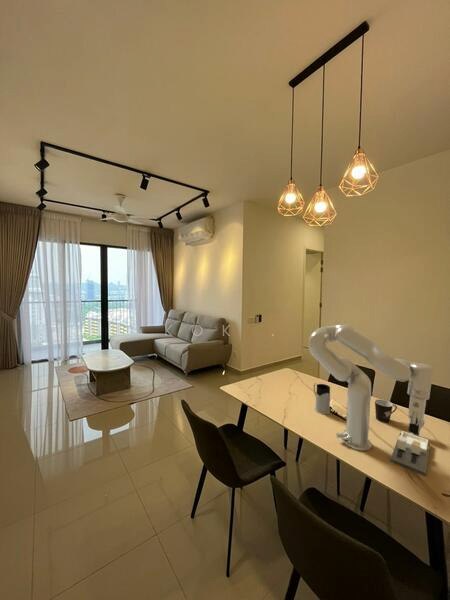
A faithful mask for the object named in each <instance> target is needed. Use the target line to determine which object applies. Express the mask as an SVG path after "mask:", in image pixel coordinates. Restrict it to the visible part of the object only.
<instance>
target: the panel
mask: <svg viewBox="0 0 450 600" xmlns="http://www.w3.org/2000/svg"><path fill="white" fill-rule="evenodd" d="M401 433H402V432H399V435H398V438H399V436H401ZM398 438H397V441H396V442H395V446H394V448H393V451H392V454H391V456H390V458H389V459H390V462H391V463H393V464H396V465H399V466H400V467H403V468H406V469H407V470H410V471H413V472H415V473H417V474H420V475H422V476H425V477H426V476H427V471H428V470H427V469H428V462H429V457H430V456H429V455H430V450H431V442H429V441H428V445H427V451H426V453H424V452H422V451H420V454H419V455H418V454H415V453H412V452H411V447H408V446H406V450H405V451H404V450H402V449H399V448H397V444H398Z"/></svg>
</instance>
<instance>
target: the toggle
mask: <svg viewBox="0 0 450 600" xmlns="http://www.w3.org/2000/svg"><path fill="white" fill-rule="evenodd" d="M398 437H399V438H397V440H398V444H397V448H399V449H402V450H404V451H405V450H406V446H407V438H404V437H402V436H399V435H398Z"/></svg>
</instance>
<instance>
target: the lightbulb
mask: <svg viewBox="0 0 450 600" xmlns="http://www.w3.org/2000/svg"><path fill="white" fill-rule="evenodd" d="M408 418H409V417H408ZM410 420H411V418H409V422H410ZM418 425H419V429H418V434H417V435H416V434H414V433H412V434H413V435H416V436H419V437H420V432H421V430H422V428H423V427H424V426H425V419H423V422H422V423H421V422H419V424H418Z"/></svg>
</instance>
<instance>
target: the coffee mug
mask: <svg viewBox="0 0 450 600" xmlns="http://www.w3.org/2000/svg"><path fill="white" fill-rule="evenodd" d="M393 406H395V408H394V410H393ZM374 407H375V408H374V409H375V410H374V411H375V418H376V420H377V421H379V422H381V423H383V424H389V423H390V420H391V416H392V414H393V413H395V412H396V410H397V408H398V407H397V405H396V404H394V403H392V402H391V401H389V400H386V399H382V398H381V399H380V398H376V399H374Z"/></svg>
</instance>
